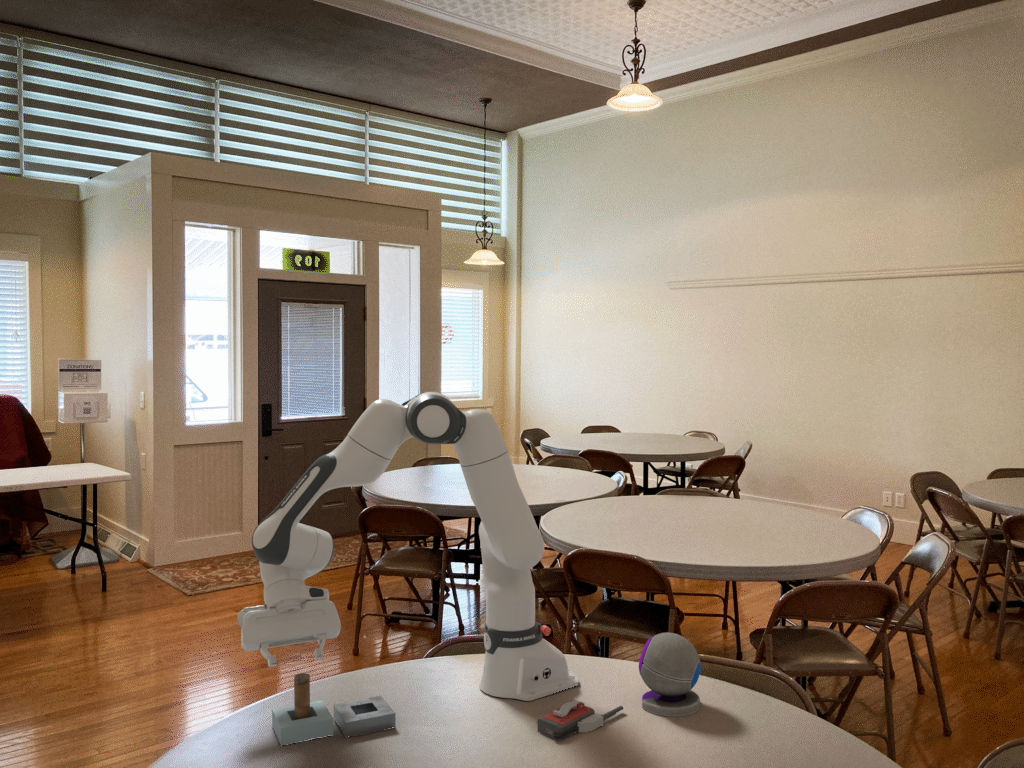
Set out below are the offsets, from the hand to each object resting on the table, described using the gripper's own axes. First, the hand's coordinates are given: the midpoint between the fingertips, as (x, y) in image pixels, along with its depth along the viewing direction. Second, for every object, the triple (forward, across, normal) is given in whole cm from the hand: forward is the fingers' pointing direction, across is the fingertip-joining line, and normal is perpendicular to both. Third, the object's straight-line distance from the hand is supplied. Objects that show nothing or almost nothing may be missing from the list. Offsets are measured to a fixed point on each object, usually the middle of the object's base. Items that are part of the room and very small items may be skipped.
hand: (296, 661), depth 168 cm
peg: (+12, 0, +5) cm, 13 cm away
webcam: (+29, +73, -11) cm, 79 cm away
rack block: (+12, 0, +5) cm, 13 cm away
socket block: (+14, +12, +3) cm, 19 cm away
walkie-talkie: (+28, +51, -10) cm, 59 cm away
